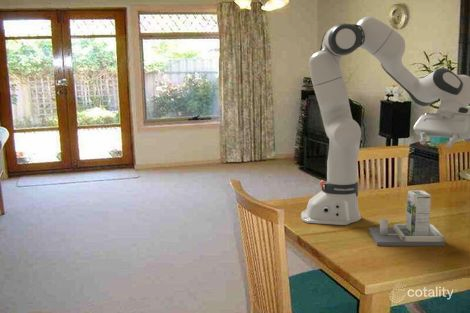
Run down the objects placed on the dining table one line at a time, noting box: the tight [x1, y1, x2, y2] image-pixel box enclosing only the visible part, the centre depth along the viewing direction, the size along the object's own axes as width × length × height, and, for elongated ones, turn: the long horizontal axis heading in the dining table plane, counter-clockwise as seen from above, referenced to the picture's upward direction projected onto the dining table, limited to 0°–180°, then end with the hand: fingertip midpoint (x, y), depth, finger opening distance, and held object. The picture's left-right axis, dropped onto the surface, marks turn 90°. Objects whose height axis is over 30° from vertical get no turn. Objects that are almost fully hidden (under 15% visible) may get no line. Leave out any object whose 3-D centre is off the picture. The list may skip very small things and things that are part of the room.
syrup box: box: [405, 189, 432, 236], centre depth 154 cm, size 6×6×14 cm
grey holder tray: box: [368, 218, 446, 247], centre depth 155 cm, size 21×14×6 cm, turn 85°
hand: (434, 144), depth 163 cm, fingers open, 8 cm apart
